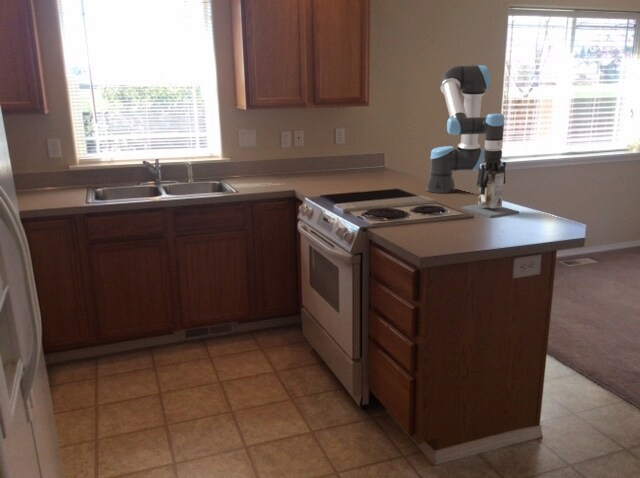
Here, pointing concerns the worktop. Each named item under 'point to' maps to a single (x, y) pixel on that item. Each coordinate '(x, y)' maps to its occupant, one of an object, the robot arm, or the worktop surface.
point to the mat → (490, 211)
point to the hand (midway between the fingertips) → (490, 200)
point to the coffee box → (493, 190)
